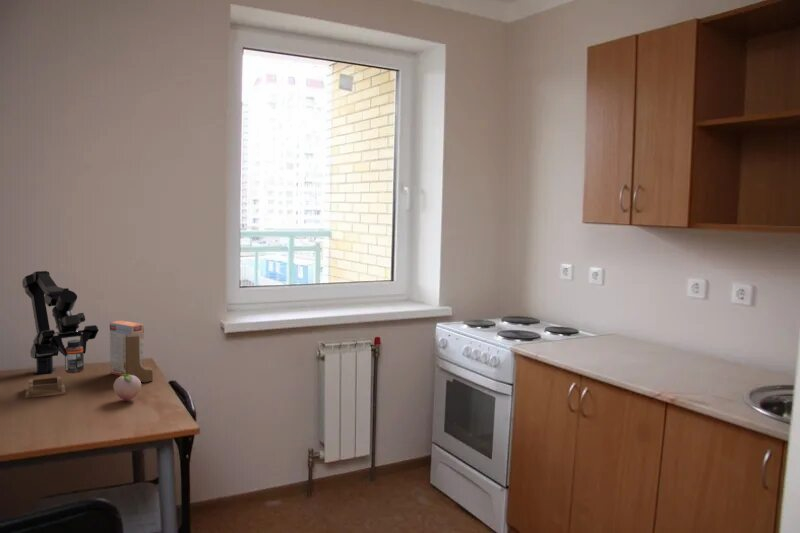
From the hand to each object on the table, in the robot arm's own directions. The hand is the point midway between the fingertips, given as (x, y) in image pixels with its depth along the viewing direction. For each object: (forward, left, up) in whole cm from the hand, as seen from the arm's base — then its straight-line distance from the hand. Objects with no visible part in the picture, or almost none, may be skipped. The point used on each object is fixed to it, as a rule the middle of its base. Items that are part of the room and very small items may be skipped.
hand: (75, 354), depth 219 cm
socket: (-1, -10, -13) cm, 17 cm away
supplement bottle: (-1, -1, -7) cm, 7 cm away
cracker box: (-19, +14, -13) cm, 27 cm away
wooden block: (-9, +20, -13) cm, 26 cm away
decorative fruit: (+15, +20, -13) cm, 29 cm away
